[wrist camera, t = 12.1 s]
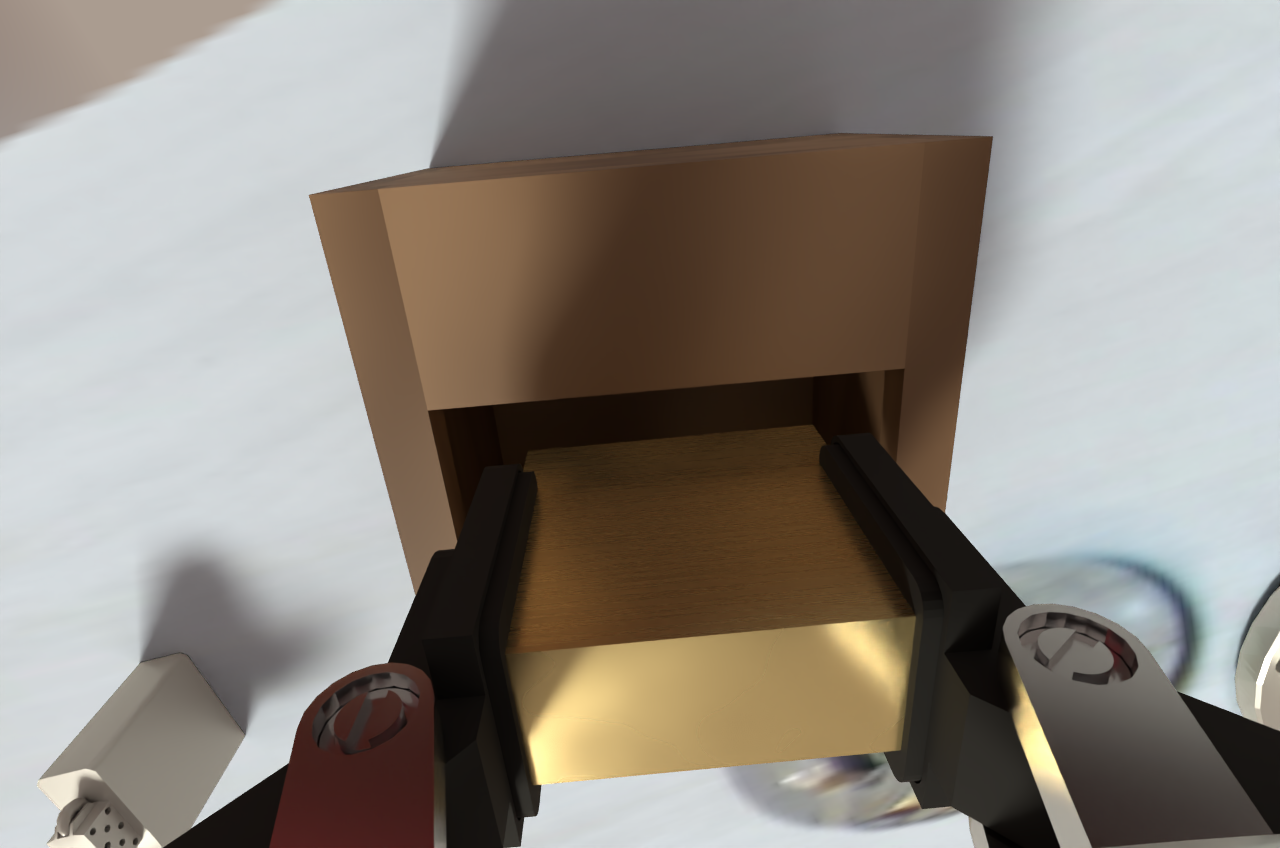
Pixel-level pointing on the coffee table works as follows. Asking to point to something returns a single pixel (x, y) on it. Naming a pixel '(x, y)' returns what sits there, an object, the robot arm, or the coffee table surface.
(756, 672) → the gold metal block
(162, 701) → the lighter
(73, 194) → the coffee table surface
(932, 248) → the box
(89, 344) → the coffee table surface
